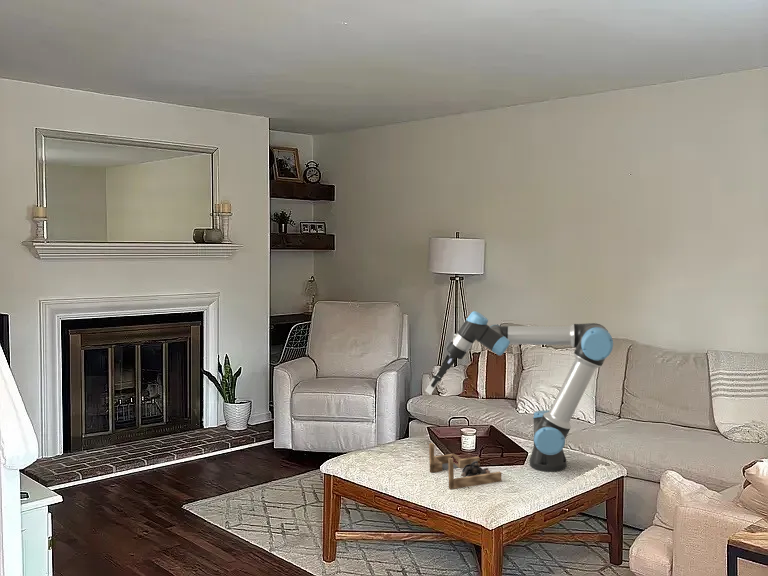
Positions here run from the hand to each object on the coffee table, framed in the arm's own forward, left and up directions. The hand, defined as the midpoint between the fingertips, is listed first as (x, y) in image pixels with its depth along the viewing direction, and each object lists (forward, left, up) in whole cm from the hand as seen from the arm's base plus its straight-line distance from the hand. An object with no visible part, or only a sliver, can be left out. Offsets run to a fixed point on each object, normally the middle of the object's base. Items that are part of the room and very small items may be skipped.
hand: (429, 388), depth 313 cm
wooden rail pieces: (-11, +5, -35) cm, 37 cm away
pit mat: (-9, -4, -35) cm, 37 cm away
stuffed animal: (-16, +9, -36) cm, 40 cm away
